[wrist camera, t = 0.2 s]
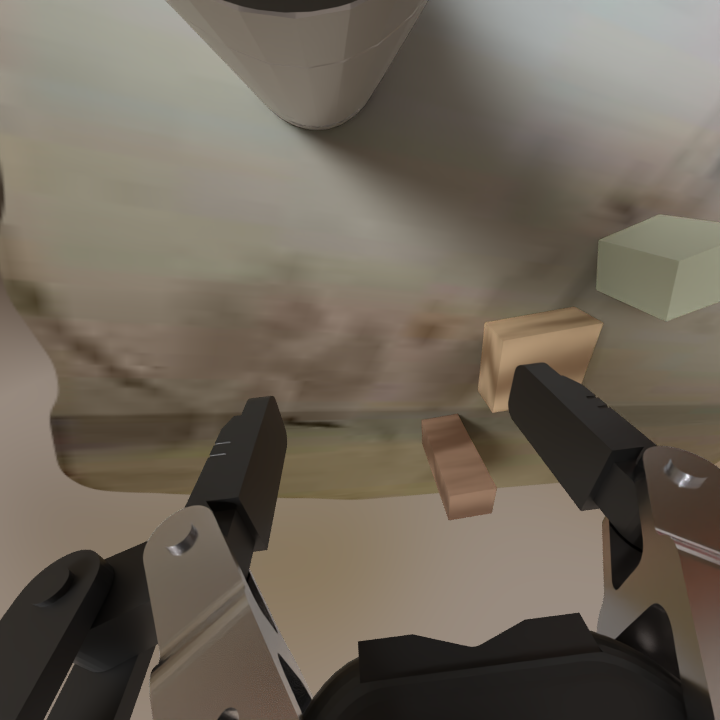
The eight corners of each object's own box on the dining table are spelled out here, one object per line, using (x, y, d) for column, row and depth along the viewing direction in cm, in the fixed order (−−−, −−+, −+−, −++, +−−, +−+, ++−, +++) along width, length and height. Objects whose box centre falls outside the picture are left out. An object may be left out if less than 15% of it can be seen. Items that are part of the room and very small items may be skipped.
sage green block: (598, 239, 25) (679, 261, 19) (659, 214, 25) (762, 228, 19) (595, 289, 28) (666, 321, 22) (650, 268, 27) (738, 294, 21)
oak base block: (483, 321, 29) (503, 340, 26) (571, 305, 29) (603, 322, 26) (476, 389, 34) (492, 412, 31) (552, 375, 34) (576, 398, 31)
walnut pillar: (421, 419, 36) (450, 496, 27) (457, 413, 36) (497, 488, 27) (422, 443, 38) (448, 520, 30) (455, 438, 38) (491, 512, 30)
